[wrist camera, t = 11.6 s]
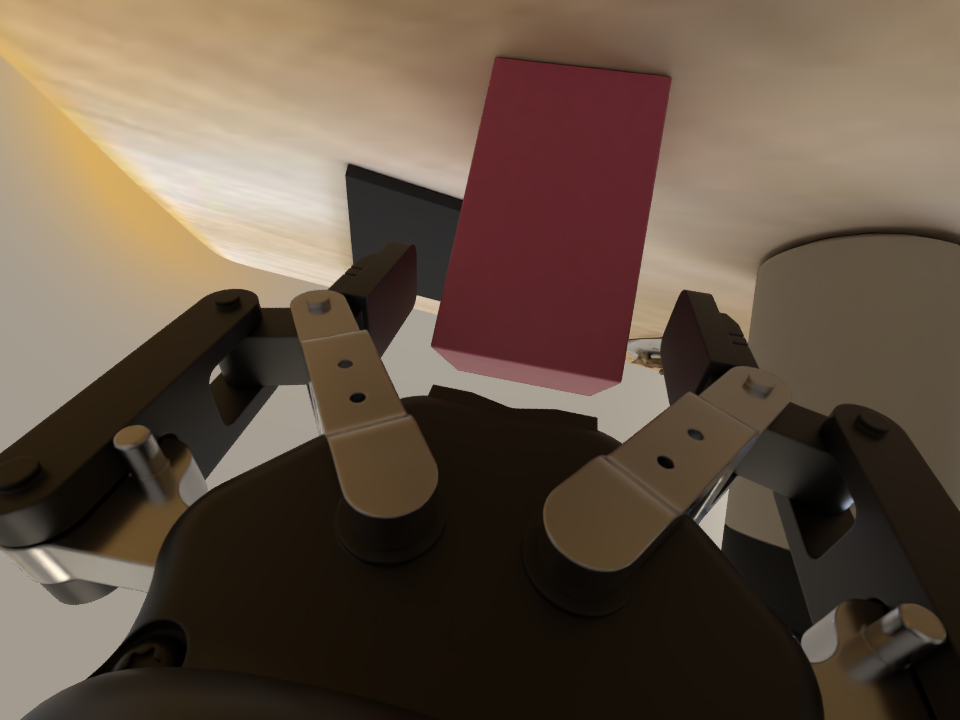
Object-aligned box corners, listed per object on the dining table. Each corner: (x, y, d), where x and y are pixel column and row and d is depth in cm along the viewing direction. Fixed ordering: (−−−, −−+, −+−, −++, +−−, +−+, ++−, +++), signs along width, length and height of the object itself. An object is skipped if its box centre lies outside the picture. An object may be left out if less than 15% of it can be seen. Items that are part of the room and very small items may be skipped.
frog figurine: (660, 330, 39) (653, 372, 39) (780, 360, 41) (775, 401, 40) (603, 346, 50) (598, 379, 50) (699, 369, 52) (695, 401, 51)
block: (494, 56, 13) (429, 346, 12) (672, 75, 13) (622, 383, 12) (501, 158, 18) (456, 370, 17) (629, 175, 18) (590, 396, 17)
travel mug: (1018, 219, 16) (988, 776, 13) (950, 294, 22) (922, 680, 20) (754, 234, 20) (699, 652, 18) (761, 293, 27) (721, 607, 24)
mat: (347, 163, 22) (345, 175, 21) (635, 256, 25) (634, 266, 25) (356, 272, 41) (354, 278, 41) (518, 315, 44) (517, 321, 44)
